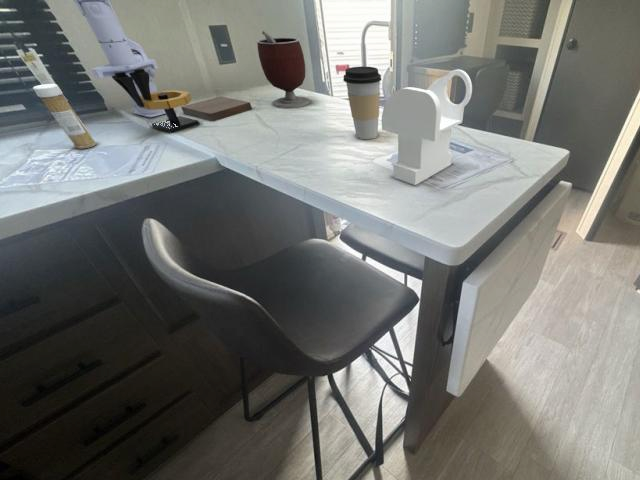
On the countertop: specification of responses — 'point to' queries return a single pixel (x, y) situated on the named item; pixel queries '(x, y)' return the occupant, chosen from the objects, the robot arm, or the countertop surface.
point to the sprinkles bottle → (64, 115)
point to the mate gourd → (283, 67)
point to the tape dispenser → (424, 127)
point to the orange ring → (174, 100)
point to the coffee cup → (364, 99)
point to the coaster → (216, 108)
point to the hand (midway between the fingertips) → (145, 105)
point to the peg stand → (174, 119)
